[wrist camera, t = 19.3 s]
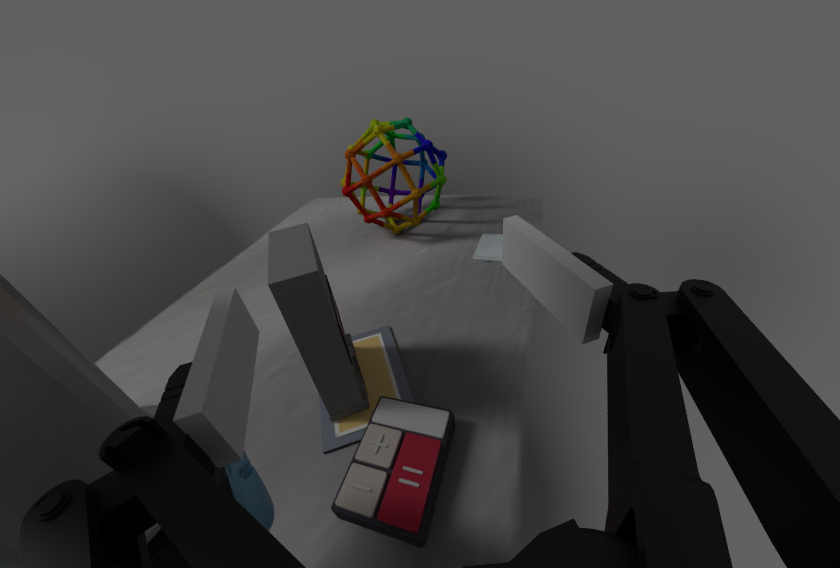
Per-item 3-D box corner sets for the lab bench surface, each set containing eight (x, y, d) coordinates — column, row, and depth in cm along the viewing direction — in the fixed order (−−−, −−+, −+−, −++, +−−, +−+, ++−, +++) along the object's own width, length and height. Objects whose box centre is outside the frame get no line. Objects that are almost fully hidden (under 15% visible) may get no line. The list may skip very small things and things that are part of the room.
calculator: (327, 507, 38) (379, 391, 48) (338, 520, 40) (385, 408, 51) (420, 539, 34) (453, 407, 45) (425, 551, 37) (456, 424, 48)
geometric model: (294, 158, 85) (380, 118, 67) (362, 124, 104) (443, 85, 86) (352, 258, 99) (436, 246, 81) (402, 211, 118) (479, 193, 100)
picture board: (324, 453, 46) (322, 451, 46) (316, 348, 63) (315, 346, 63) (421, 419, 49) (420, 417, 48) (389, 327, 65) (388, 325, 65)
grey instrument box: (372, 407, 51) (326, 268, 36) (331, 423, 49) (266, 285, 35) (354, 346, 61) (313, 220, 47) (320, 357, 60) (267, 232, 46)
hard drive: (482, 233, 89) (472, 258, 80) (514, 234, 86) (507, 260, 77) (482, 238, 90) (472, 264, 81) (514, 240, 87) (507, 266, 78)
